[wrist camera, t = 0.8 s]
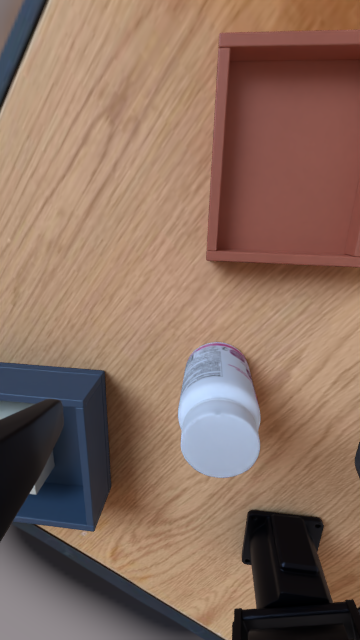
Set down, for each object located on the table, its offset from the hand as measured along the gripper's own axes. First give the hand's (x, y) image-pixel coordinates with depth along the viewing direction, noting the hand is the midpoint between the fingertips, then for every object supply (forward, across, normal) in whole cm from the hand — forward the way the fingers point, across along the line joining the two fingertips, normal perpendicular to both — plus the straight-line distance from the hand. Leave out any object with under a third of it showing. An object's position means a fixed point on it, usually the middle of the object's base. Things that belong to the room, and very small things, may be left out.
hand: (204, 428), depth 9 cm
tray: (+13, -4, -9) cm, 17 cm away
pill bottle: (+13, -1, +5) cm, 14 cm away
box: (+13, +15, +12) cm, 23 cm away
